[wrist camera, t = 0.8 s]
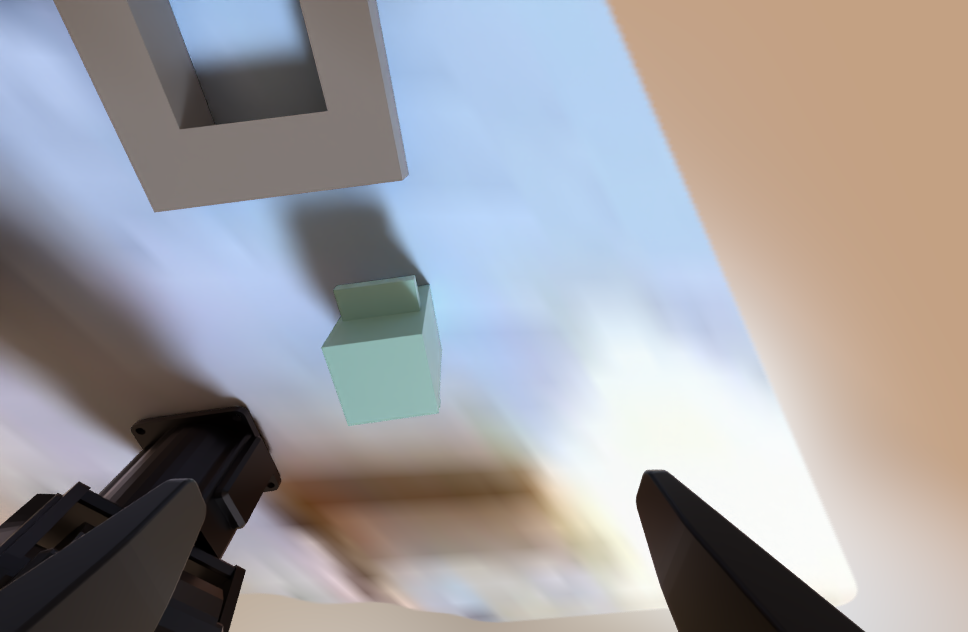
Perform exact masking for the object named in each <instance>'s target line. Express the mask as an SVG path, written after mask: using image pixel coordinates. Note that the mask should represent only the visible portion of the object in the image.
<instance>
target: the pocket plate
mask: <svg viewBox="0 0 968 632" xmlns="http://www.w3.org/2000/svg"><path fill="white" fill-rule="evenodd" d="M53 1H54V3H55V5H56V7H57V9H58V11H59V13H60V15H61V17H62V20H63V22H64V24H65V26H66V28H67V30H68V32H69V34H70V36H71V38H72V41H73V43H74V45H75V47H76V49H77V51H78V53H79V55H80V57H81V59H82V61H83V64H84V66H85V68H86V70H87V72H88V74H89V76H90V78H91V80H92V82H93V84H94V87H95V89H96V91H97V93H98V95H99V97H100V99H101V101H102V103H103V105H104V108H105V110H106V112H107V114H108V116H109V118H110V120H111V122H112V124H113V126H114V128H115V131H116V133H117V135H118V137H119V139H120V141H121V143H122V145H123V147H124V149H125V152H126V154H127V156H128V158H129V160H130V162H131V164H132V166H133V168H134V170H135V172H136V175H137V177H138V179H139V181H140V183H141V185H142V187H143V189H144V191H145V193H146V196H147V198H148V200H149V202H150V204H151V206H152V208H153V210H154V212H161V211H169V210H176V209H184V208H192V207H200V206H207V205H215V204H223V203H231V202H238V201H246V200H254V199H262V198H269V197H277V196H285V195H293V194H301V193H308V192H316V191H324V190H332V189H339V188H347V187H355V186H363V185H370V184H378V183H386V182H394V181H401V180H404V179H405V178H406V177H407V176H408V175H409V173H408V167H407V162H406V157H405V151H404V146H403V141H402V135H401V130H400V125H399V119H398V114H397V109H396V103H395V98H394V93H393V88H392V82H391V77H390V72H389V66H388V61H387V56H386V50H385V45H384V40H383V34H382V29H381V24H380V18H379V13H378V8H377V2H376V0H299V1H300V5H301V9H302V13H303V17H304V21H305V25H306V28H307V32H308V36H309V40H310V44H311V48H312V52H313V56H314V60H315V64H316V67H317V71H318V75H319V79H320V83H321V87H322V91H323V95H324V99H325V102H326V106H327V110H328V111H324V112H316V113H308V114H300V115H292V116H284V117H276V118H268V119H260V120H252V121H244V122H236V123H228V124H220V125H215V124H214V121H213V118H212V116H211V113H210V110H209V108H208V105H207V102H206V100H205V97H204V94H203V91H202V89H201V86H200V83H199V81H198V78H197V75H196V73H195V70H194V67H193V65H192V62H191V59H190V57H189V54H188V51H187V49H186V46H185V43H184V41H183V38H182V35H181V33H180V30H179V27H178V25H177V22H176V19H175V17H174V14H173V11H172V9H171V6H170V3H169V1H168V0H53Z"/></svg>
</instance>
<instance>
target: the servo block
mask: <svg viewBox="0 0 968 632" xmlns="http://www.w3.org/2000/svg"><path fill="white" fill-rule="evenodd" d="M333 291H334V295H335V298H336V301H337V304H338V308H339V311H340V314H341V317H340V318H339V320H338V321H337V323H336V325H335V326H334V328H333V330H332V331H331V333H330V334H329V336H328V338H327V339H326V341H325V342H324V344H323V346H322V347H321V348H322V351H323V354H324V357H325V360H326V363H327V366H328V369H329V371H330V374H331V377H332V380H333V383H334V386H335V389H336V392H337V395H338V398H339V400H340V403H341V406H342V409H343V412H344V415H345V418H346V421H347V424H348V426H352V425H359V424H366V423H373V422H380V421H387V420H394V419H401V418H408V417H416V416H423V415H430V414H437V413H439V408H440V377H441V357H442V348H441V342H440V337H439V332H438V326H437V321H436V316H435V311H434V305H433V300H432V295H431V289H430V285H423V286H417V283H416V278H415V275H412V276H404V277H397V278H390V279H382V280H375V281H367V282H360V283H352V284H345V285H337V286H336V287H335V289H334V290H333Z"/></svg>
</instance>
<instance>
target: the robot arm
mask: <svg viewBox="0 0 968 632" xmlns="http://www.w3.org/2000/svg"><path fill="white" fill-rule="evenodd" d="M236 414H238V415H240V416H241V417H239V416H237V415H236ZM131 432H132V433H133V435H134V436H135V438H136V439H137V441H138V443H139V444H140V446H141V447H142V449H143V450H142V451H141V452H140V453H139V454H138V455H137V456H136V457H135V458H134V459H133V460H132V461H131V462H130V463H129V464H128V465H127V466H126V467H125V468H124V469H123V470H122V471H121V472H120V473H119V474H118V475H117V476H116V477H115V478H114V479H113V480H112V481H111V482H110V483H109V484H108V485H107V486H106V487H105V488H104V489H103V490H102V491H101V492H100V493H99V494H96V493H94V492H93V491H91V490H89V489H90V488H91V487H89V486H87V485H85V484H83V483H81V482H78V483H76V484H75V485H74V486H73V487H72V488H71V489H69V490H68V491H67V492H66V493H65V494H64V495H61V494H59V493H57V494H37V495H35V496H34V497H33V498H32V499H31V500H30V501H28V502H27V503H26V504H25V505H24V506H23V507H21V508H20V509H19V510H18V511H17V512H16V513H15V514H13V515H12V516H11V517H10V518H9V519H8V520H6V521H5V522H4V523H3V524H2V525H1V526H0V632H228V631H229V628H230V625H231V621H232V617H233V614H234V610H235V607H236V603H237V599H238V596H239V593H240V589H241V585H242V582H243V578H244V575H245V571H246V570H245V569H243V568H241V567H239V566H237V565H235V566H233V565H231V564H229V563H227V562H225V561H223V560H221V558H222V556H223V554H224V552H225V551H226V549H227V547H228V545H229V543H230V541H231V540H232V538H233V536H234V534H235V532H236V530H237V529H241V528H243V527H244V526H245V525H246V523H247V522H248V520H249V518H250V516H251V514H252V512H253V510H254V508H255V507H256V505H257V503H258V501H259V499H260V497H261V495H262V493H263V492H268V491H274V490H277V489H278V487H279V485H280V483H281V478H280V476H279V474H278V472H277V470H276V467H275V465H274V463H273V460H272V458H271V456H270V454H269V452H268V450H267V448H266V446H265V444H264V442H263V440H262V438H261V436H260V434H259V432H258V430H257V428H256V426H255V424H254V422H253V420H252V418H251V416H250V413H249V412H248V410H247V409H245V408H243V407H230V408H223V409H216V410H208V411H201V412H194V413H187V414H180V415H173V416H165V417H158V418H151V419H144V420H139V421H138V422H137V423H135V424H134V425H133V426H132V427H131ZM636 505H637V510H638V513H639V517H640V520H641V523H642V527H643V530H644V533H645V537H646V540H647V543H648V547H649V550H650V554H651V557H652V560H653V564H654V567H655V570H656V574H657V577H658V580H659V583H660V586H661V589H662V592H663V594H664V597H665V600H666V602H667V605H668V607H669V610H670V612H671V615H672V617H673V620H674V622H675V625H676V627H677V630H678V632H865V631H864V630H862V629H861V628H860V627H859V626H857V625H856V624H855V623H854V622H853V621H851V620H850V619H849V618H848V617H846V616H845V615H844V614H843V613H841V612H840V611H839V610H838V609H836V608H835V607H834V606H833V605H832V604H830V603H829V602H828V601H827V600H825V599H824V598H823V597H822V596H820V595H819V594H818V593H817V592H816V591H814V590H813V589H812V588H811V587H809V586H808V585H807V584H806V583H804V582H803V581H802V580H801V579H800V578H798V577H797V576H796V575H795V574H793V573H792V572H791V571H790V570H788V569H787V568H786V567H785V566H784V565H782V564H781V563H780V562H779V561H777V560H776V559H775V558H774V557H772V556H771V555H770V554H769V553H767V552H766V551H765V550H764V549H763V548H761V547H760V546H759V545H758V544H756V543H755V542H754V541H753V540H751V539H750V538H749V537H748V536H747V535H745V534H744V533H743V532H742V531H740V530H739V529H738V528H737V527H735V526H734V525H733V524H732V523H731V522H729V521H728V520H727V519H726V518H724V517H723V516H722V515H721V514H719V513H718V512H717V511H716V510H715V509H713V508H712V507H711V506H710V505H708V504H707V503H706V502H705V501H703V500H702V499H701V498H700V497H699V496H697V495H696V494H695V493H694V492H692V491H691V490H690V489H689V488H687V487H686V486H685V485H684V484H682V483H681V482H680V481H679V480H678V479H676V478H675V477H674V476H673V475H671V474H670V473H669V472H667V471H665V470H646V471H645V472H644V473H643V476H642V479H641V483H640V486H639V489H638V493H637V496H636Z"/></svg>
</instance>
